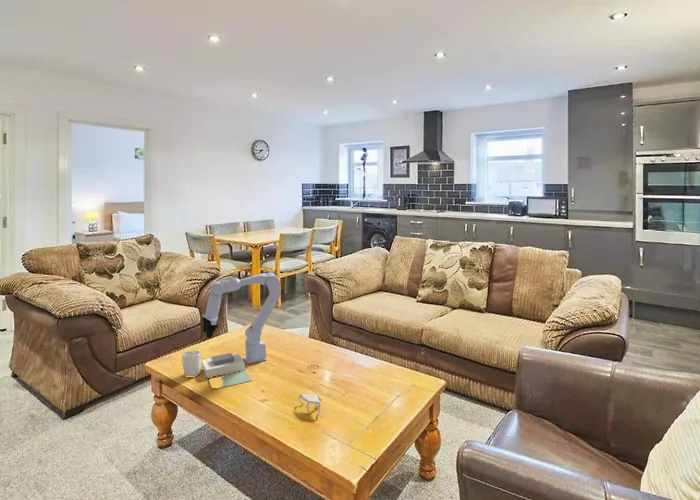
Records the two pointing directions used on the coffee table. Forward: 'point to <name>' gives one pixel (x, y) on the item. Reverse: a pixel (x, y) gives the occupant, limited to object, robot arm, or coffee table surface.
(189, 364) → the white cup
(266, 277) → the robot arm
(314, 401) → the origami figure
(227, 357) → the gray rectangular block
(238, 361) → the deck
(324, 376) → the coffee table surface
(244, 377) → the mat
